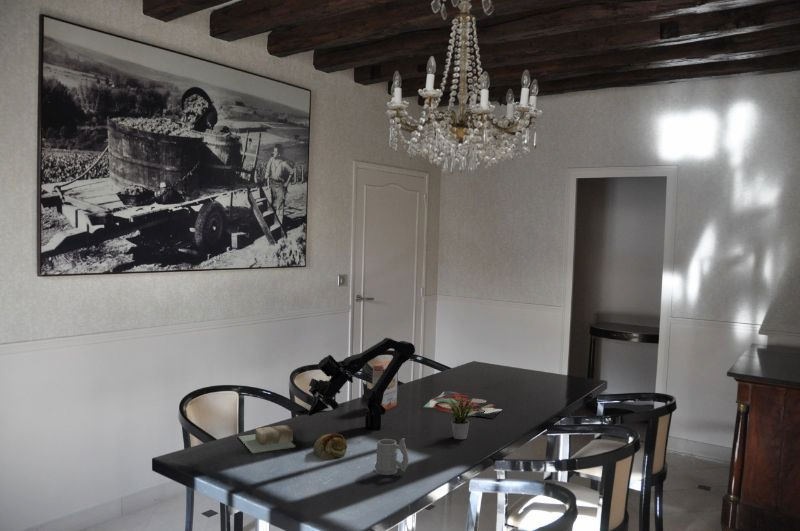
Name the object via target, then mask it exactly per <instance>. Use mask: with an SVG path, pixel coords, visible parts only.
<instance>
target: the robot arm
mask: <svg viewBox="0 0 800 531" xmlns="http://www.w3.org/2000/svg"><path fill="white" fill-rule="evenodd" d="M390 349H392V350H393V356H392V358H391V360H389V361H390V363H389V365H388V366H387V368H386V369H385V371H384V372H383V374H382V375H381V377H380V378H379V380H378V381H377V383H376V385H375V386H374V387H373V388H369V387H367V388H366V389H365V392H364V393H363V394H362V395H361V399H360V401H361V405H362V406H363V407H364V410H365V411H366V415H365V419H364V422H365V423H364V426H365V427H364V428H365V429H367V430H376V431H381V430H382V429H383V428H384V427H385V424H384V415H385V414H386V411H387V410H386V409H385V408H384V407H383V406H382V405H381V403H382V401H383V395H384V392H385V390H386V389H387V387H388V386H389V384H390V383H391V381H392V379H393V378H394V376H395V375H396V373H397V372H398V373H399V370H400V369H401V367H402V366H403V364H405V363H406V362H407V361H409V360H410V359H411V358H412V356H414V354H415V353H416V347H415V345H414V344H413V343H412V342H408V341H405V340H400V341H397V340H394V339H393V338H390V337H385V338H383V339H382V340H381V341H379V342H377V343H376V344H374V345H372V346H370V347H369V348H367V349H366V350H363V352H360V353H358V354H357V353H356V354H353V355H350V356H348V357H345V358H343V360H340V361H337V360H336V359H335V358H334V356H333V355H331V354H328V355H327V356H325V357H323V358H322V359H321V360H319V361H318V364H317V368H318V369H319V370H320V371H322V373H323V374H324V375H325V376H326V377H327V378H328V377H330V378H329V380H323V379H319V380H318V379H315V378H313V377H312V378H311V380H310V381H309V384H308V386H309V387H311V388H309V390H308V392H309V393H310V394H312V398H313V399H312V400H313V401H312V404H311V406H310V408H309V410H308V413H307V416H309V417H311V416H313V415H315V414H317V413H320V412H323V411H322V410H324V409H327V408H329V407H328V405H330V406H331V407H332V410H333V411H336V410H337V409H338V408H339V403H338V401H336V400H335V396H336V395H337V394H338V395H339V394H340V393H341V389H342V388H343V387H344V386H345V385H346V383H347V382H349V383H351V384H353V383H354V379H353V377H354V376H353V375H354V374H358V373H359V372H360V371H361V370H362V369H364V367H365V366H366V364H368V363H369V362H371V361H372V360H374V359H375V358H377V357H379V356H380V355H381V354H383V353H386V352H387V351H388V350H390ZM342 370H343V371H342ZM347 372H348V373H347ZM349 373H350V374H349ZM352 374H353V375H352ZM333 397H334V399H333Z"/></svg>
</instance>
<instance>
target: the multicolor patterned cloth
mask: <svg viewBox="0 0 800 531" xmlns="http://www.w3.org/2000/svg"><path fill="white" fill-rule="evenodd" d="M455 396H456V397H457V398H458V399H457V398H456V397H455ZM459 397H461V399H462V400H463V410H464V407H465V404H466V402H468V401H469V400H470V399H468V395H466V394H463V393H460V392H455V391H454V392H453V391H447V390H444V391H443V392H442V393H441V394H440V395H438V396H436V397H433V398H431V399H430V400H429V401H428V402H427V403H426V404H425V405H424V406H423V408H435V409H438V410H439V412H443V413H446V414H448V415H451V413H449V412H452V413H453V411H450V410H452V408H451V406H452V402H451V401H450V399H451V400H452V401H453V402H454V403H455V405H456V407H457V406H458V409H459V412H460V414H461V411H460V405H459V401H460V399H459ZM471 399H472V398H471ZM458 400H459V401H458ZM445 402H446V403H445ZM476 402H477V403H476ZM486 402H487V400H486V399H481V398H480V399H479V398H474V399H472V401H471V402H470V403H469V405H468V406H470V405H471V404H472V403H476V404H473V405H472V406H471V407H470V409H469V410H471V409H473V410H471V411H470V412H469V414H468V415H469V416H471V417H473V416H474V415H475V416H474V417H483V418H488V419H492V420H493V419H494V418H495V417H496V416H497V415H498V414H499V413H500V412H501V411H502V409H501V408H495V407H496V406H495V405H496V404H491V403H490V404H487V405H484V406H480V405H479V404H481V403H482V404H485V403H486ZM487 403H488V402H487ZM449 404H450V405H451V406H450V405H449ZM468 406H467V407H468ZM493 406H494V407H493ZM453 407H454V406H453ZM476 407H477V408H476ZM468 408H469V407H468ZM467 410H468V409H467ZM467 410H466V411H467ZM447 411H449V412H447ZM484 411H485V412H484ZM481 412H484V413H481ZM470 414H474V415H470ZM468 415H467V417H469V416H468Z"/></svg>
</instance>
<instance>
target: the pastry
mask: <svg viewBox="0 0 800 531" xmlns="http://www.w3.org/2000/svg"><path fill="white" fill-rule="evenodd" d="M347 448H348V443H347V441H346V439H345V437H344V435H342V434H339V433H333V432H332V433H327V434H324V435H321V436H320V437H319V438H318V439H317V440H316V441H315V442H314V444H313V448H312V450H313V454H314V456H315V457H317V458H318V459H319V460H322V461H330V460H334V459H339V458H343V457H345V455H346V453H347Z"/></svg>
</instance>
